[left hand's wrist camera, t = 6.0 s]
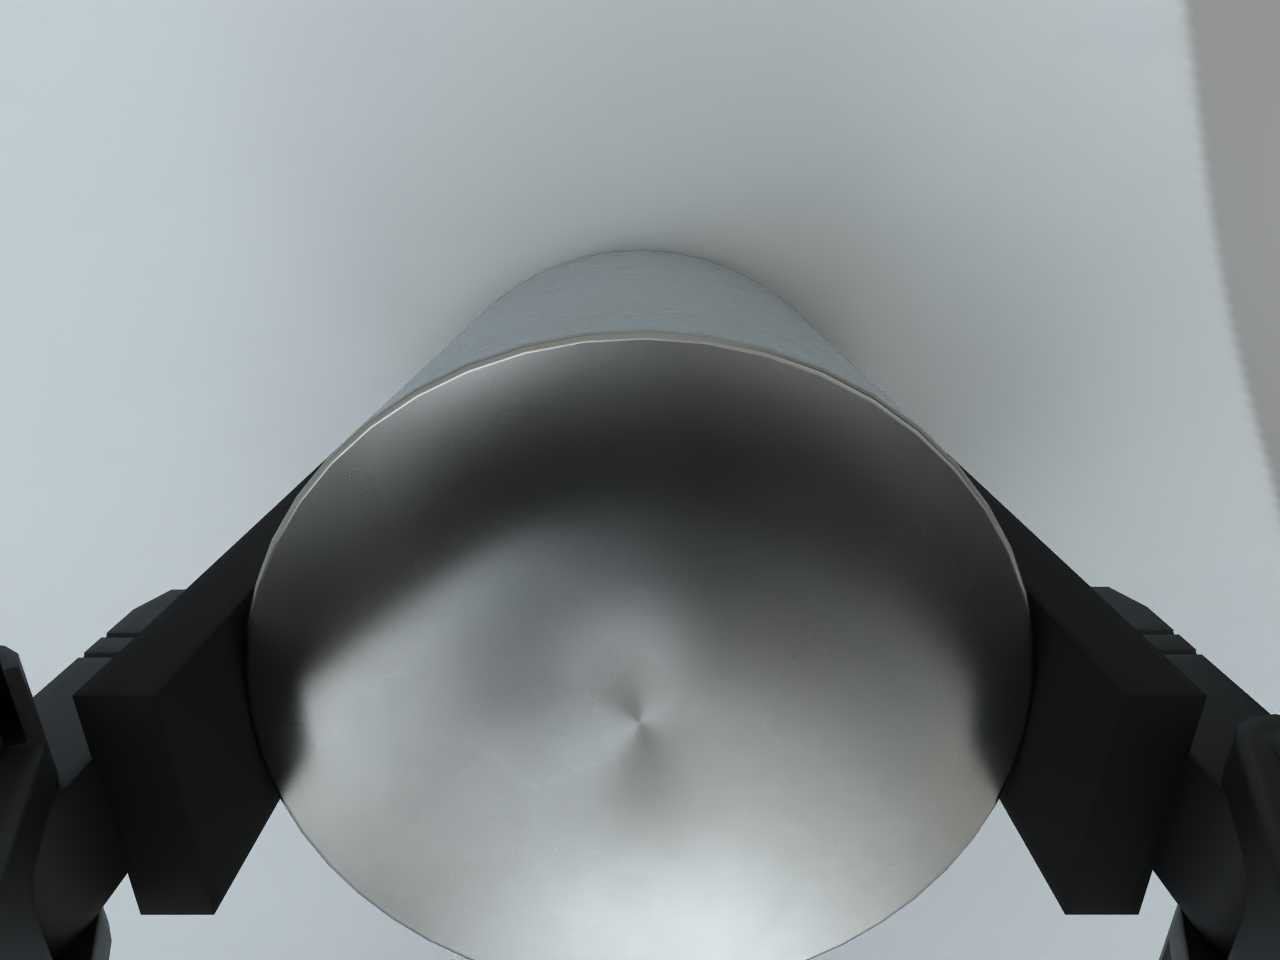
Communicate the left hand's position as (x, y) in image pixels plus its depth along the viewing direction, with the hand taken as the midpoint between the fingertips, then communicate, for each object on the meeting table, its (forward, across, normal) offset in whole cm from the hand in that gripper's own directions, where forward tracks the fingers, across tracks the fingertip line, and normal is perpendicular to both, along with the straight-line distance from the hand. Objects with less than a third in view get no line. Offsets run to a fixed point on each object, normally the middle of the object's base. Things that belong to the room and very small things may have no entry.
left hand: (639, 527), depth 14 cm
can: (+3, 0, 0) cm, 3 cm away
